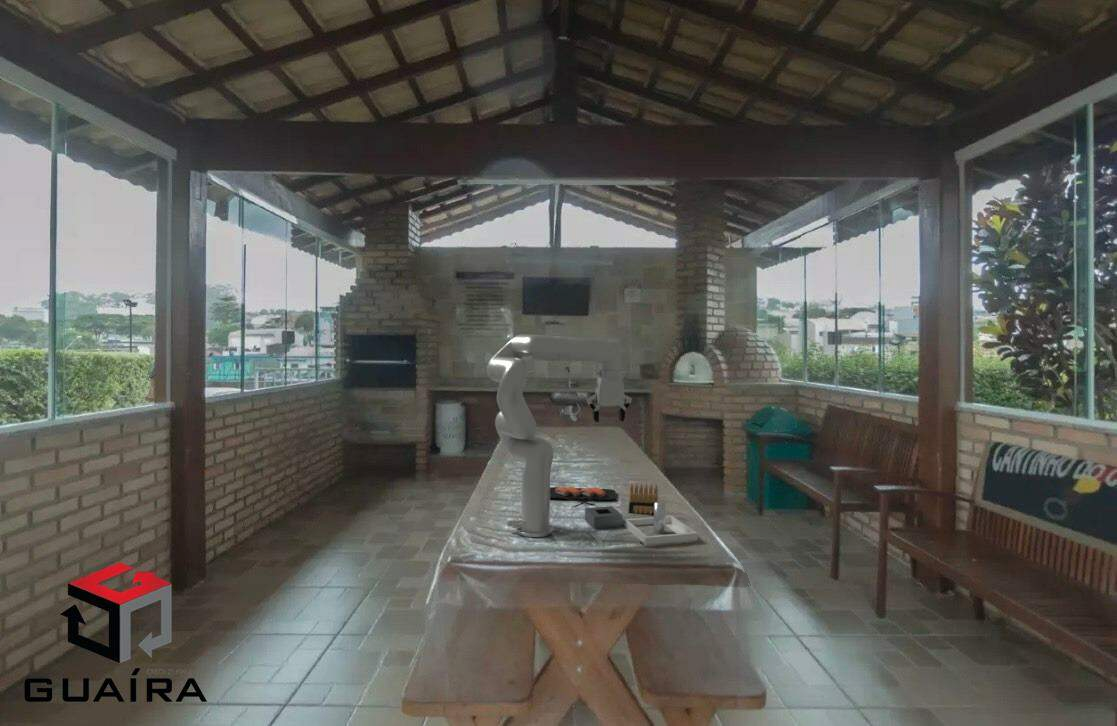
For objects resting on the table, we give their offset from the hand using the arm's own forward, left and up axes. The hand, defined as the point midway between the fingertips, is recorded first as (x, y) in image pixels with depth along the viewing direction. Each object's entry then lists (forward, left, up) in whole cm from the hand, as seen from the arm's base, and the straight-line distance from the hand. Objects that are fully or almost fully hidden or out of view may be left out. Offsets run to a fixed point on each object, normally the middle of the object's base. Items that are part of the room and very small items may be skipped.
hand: (609, 421), depth 212 cm
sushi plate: (-6, +17, -35) cm, 39 cm away
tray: (+9, -25, -34) cm, 43 cm away
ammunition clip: (+12, -5, -35) cm, 37 cm away
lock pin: (+9, -25, -34) cm, 43 cm away
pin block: (-6, -12, -34) cm, 37 cm away
